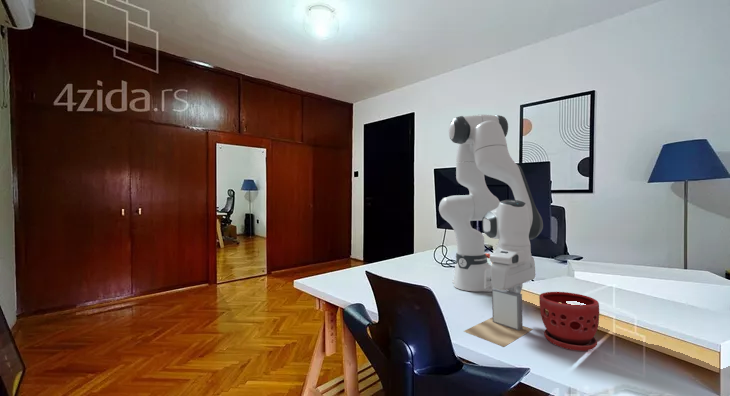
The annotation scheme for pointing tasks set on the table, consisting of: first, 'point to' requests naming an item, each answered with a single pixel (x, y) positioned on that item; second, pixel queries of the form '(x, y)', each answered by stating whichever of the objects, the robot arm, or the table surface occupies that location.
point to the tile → (507, 308)
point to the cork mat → (496, 332)
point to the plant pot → (570, 320)
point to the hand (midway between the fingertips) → (515, 298)
